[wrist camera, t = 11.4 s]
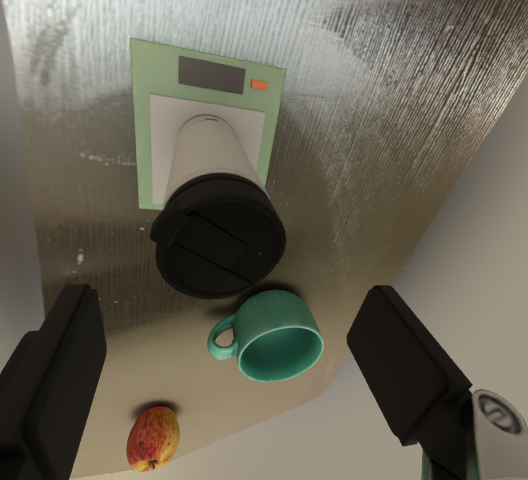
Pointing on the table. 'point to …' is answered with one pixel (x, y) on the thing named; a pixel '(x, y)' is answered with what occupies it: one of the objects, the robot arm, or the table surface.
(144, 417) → the apple
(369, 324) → the robot arm
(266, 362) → the mug
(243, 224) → the travel mug
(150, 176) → the scale
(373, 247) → the table surface
